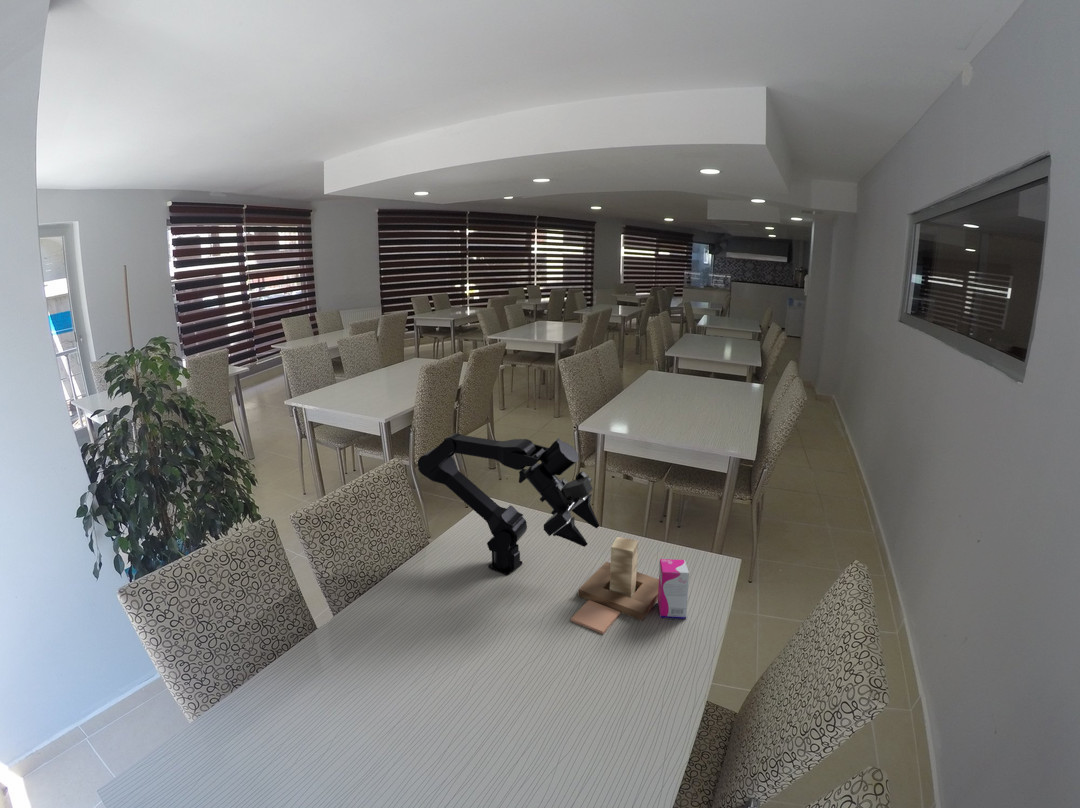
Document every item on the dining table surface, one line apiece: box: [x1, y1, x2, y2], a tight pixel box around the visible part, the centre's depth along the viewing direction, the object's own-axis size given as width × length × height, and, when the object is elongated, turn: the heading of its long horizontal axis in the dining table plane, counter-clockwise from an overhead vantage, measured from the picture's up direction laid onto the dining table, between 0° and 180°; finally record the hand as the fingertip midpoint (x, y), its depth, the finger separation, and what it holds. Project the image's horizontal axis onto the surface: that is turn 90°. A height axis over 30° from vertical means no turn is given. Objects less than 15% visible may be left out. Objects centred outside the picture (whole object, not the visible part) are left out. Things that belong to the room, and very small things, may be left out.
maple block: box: [609, 536, 639, 598], centre depth 132 cm, size 5×5×13 cm
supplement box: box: [657, 558, 690, 620], centre depth 126 cm, size 6×6×12 cm
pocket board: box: [577, 561, 659, 622], centre depth 134 cm, size 16×14×2 cm
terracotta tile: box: [570, 600, 621, 635], centre depth 125 cm, size 8×8×1 cm
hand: (592, 536), depth 133 cm, fingers open, 9 cm apart
